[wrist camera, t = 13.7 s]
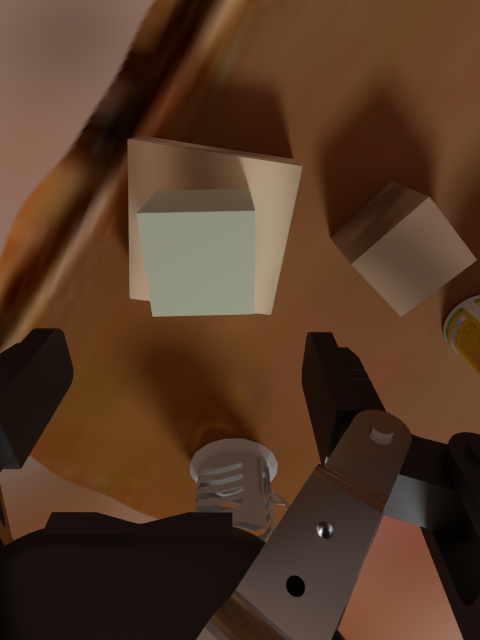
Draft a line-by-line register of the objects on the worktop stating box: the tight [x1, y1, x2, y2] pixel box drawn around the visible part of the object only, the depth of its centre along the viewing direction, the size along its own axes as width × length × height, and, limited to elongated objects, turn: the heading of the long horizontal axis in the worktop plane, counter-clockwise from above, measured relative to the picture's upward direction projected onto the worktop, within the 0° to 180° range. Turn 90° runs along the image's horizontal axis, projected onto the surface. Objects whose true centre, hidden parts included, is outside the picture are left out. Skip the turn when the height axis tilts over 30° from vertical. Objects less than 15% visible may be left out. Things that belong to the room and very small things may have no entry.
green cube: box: [136, 189, 255, 317], centre depth 20 cm, size 6×6×6 cm
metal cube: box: [330, 181, 477, 317], centre depth 24 cm, size 6×6×6 cm
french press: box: [190, 438, 290, 541], centre depth 29 cm, size 10×12×25 cm
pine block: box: [128, 136, 303, 315], centre depth 25 cm, size 10×10×4 cm
